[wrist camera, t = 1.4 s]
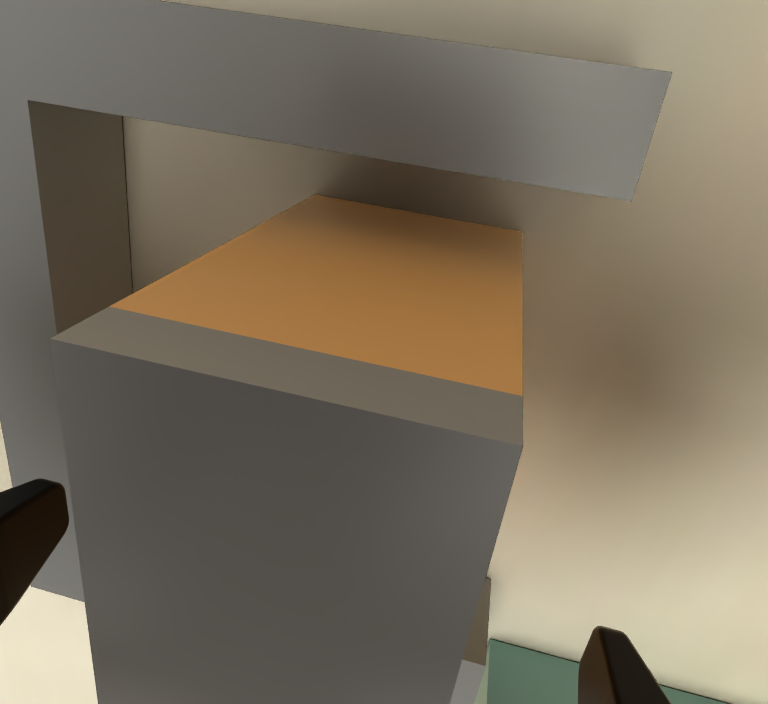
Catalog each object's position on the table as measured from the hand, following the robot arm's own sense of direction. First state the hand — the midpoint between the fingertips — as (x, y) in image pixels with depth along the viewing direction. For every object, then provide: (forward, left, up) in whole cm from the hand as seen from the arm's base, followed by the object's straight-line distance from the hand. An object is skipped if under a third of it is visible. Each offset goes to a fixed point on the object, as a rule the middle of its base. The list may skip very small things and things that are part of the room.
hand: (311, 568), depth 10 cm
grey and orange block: (0, 0, -7) cm, 7 cm away
